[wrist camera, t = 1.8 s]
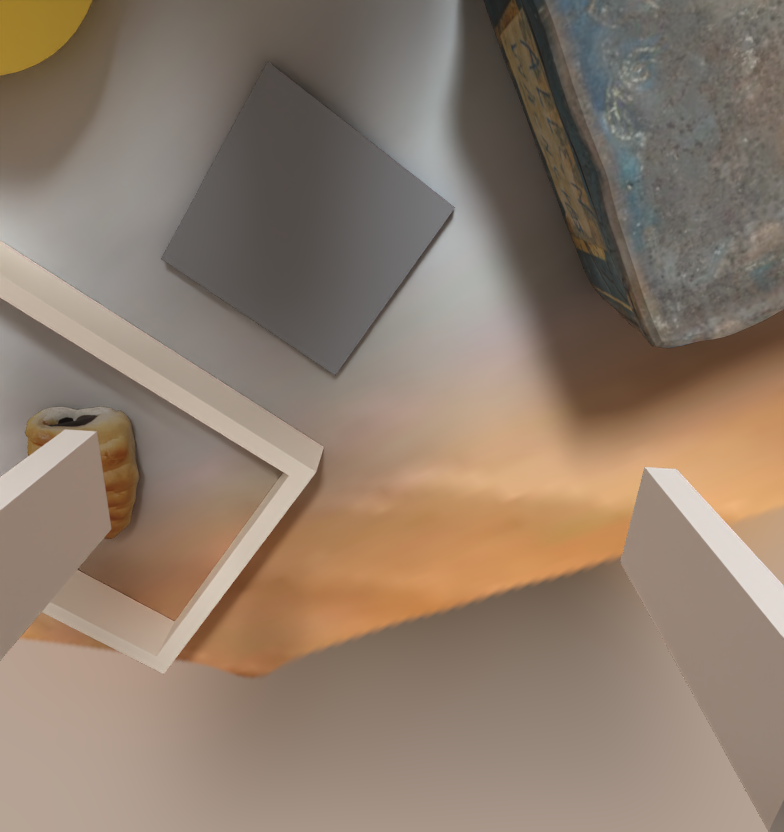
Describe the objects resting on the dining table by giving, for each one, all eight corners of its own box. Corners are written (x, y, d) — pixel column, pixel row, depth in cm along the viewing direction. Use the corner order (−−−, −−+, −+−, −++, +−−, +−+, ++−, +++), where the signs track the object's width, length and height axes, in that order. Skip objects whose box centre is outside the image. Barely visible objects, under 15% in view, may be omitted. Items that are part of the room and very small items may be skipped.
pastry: (159, 524, 41) (135, 557, 38) (67, 524, 42) (35, 556, 38) (133, 401, 38) (105, 425, 34) (32, 402, 38) (-7, 426, 34)
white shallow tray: (-133, 473, 40) (-180, 499, 37) (-32, 220, 33) (-79, 225, 30) (181, 638, 45) (163, 674, 42) (324, 447, 38) (316, 472, 35)
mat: (165, 257, 34) (161, 258, 33) (270, 63, 30) (267, 61, 29) (336, 372, 36) (335, 375, 36) (454, 207, 32) (455, 207, 32)
